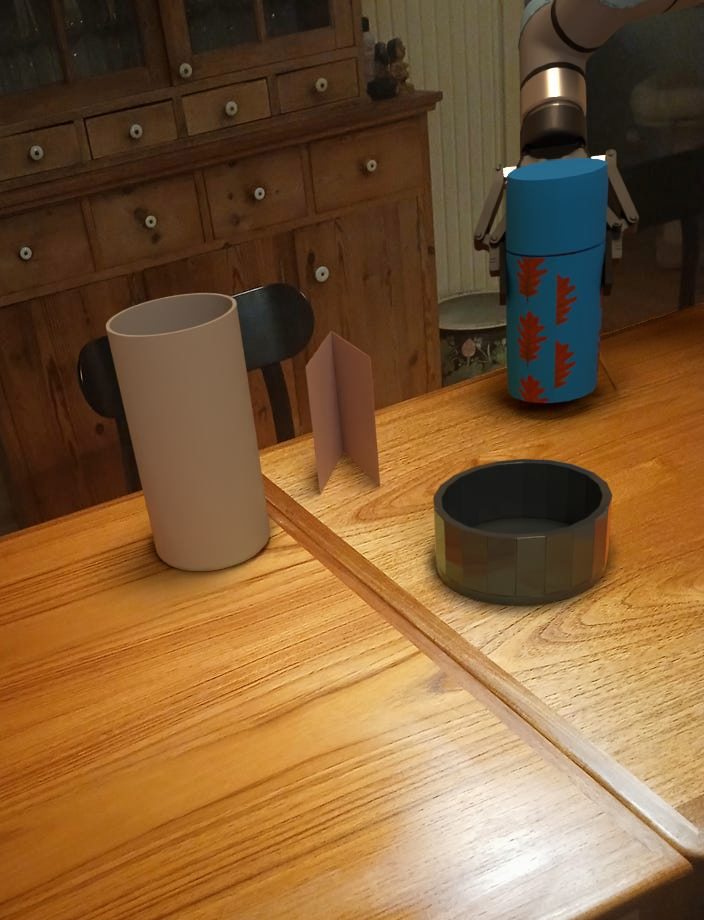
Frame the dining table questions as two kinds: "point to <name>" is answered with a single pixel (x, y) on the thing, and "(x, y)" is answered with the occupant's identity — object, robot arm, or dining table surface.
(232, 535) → the cylinder vase
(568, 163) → the thermos
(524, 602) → the faceted round dish
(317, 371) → the greeting card
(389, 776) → the dining table surface
